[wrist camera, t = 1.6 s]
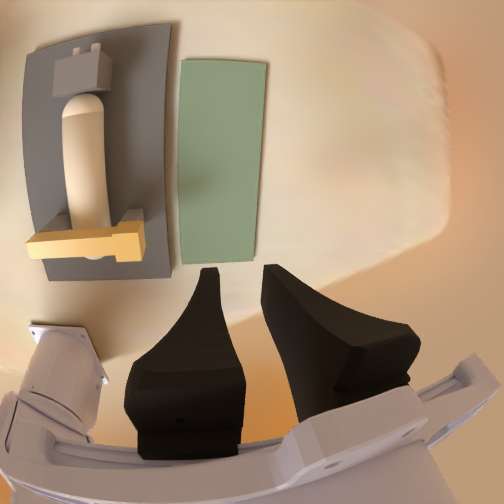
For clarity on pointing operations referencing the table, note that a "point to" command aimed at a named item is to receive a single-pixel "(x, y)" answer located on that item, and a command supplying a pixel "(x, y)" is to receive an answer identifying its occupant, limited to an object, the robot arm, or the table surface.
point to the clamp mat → (115, 148)
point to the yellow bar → (91, 242)
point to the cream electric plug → (84, 134)
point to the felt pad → (219, 158)
